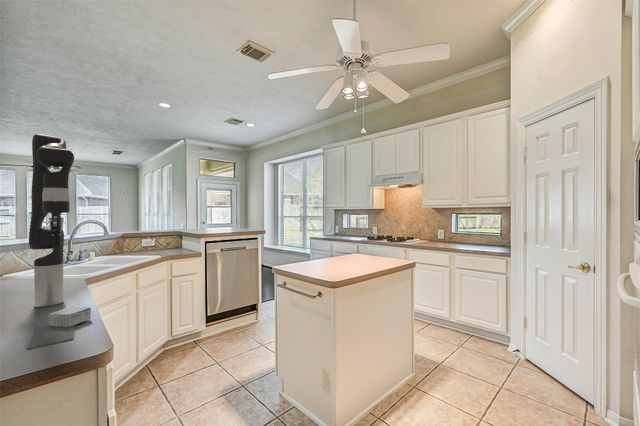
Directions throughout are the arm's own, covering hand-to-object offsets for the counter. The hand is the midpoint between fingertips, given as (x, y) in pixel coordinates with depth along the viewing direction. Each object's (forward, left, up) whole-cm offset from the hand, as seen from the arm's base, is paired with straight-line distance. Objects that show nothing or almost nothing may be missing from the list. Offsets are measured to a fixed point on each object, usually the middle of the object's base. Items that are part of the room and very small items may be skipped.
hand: (56, 245), depth 107 cm
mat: (+21, 0, -27) cm, 34 cm away
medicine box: (+10, +1, -24) cm, 26 cm away
